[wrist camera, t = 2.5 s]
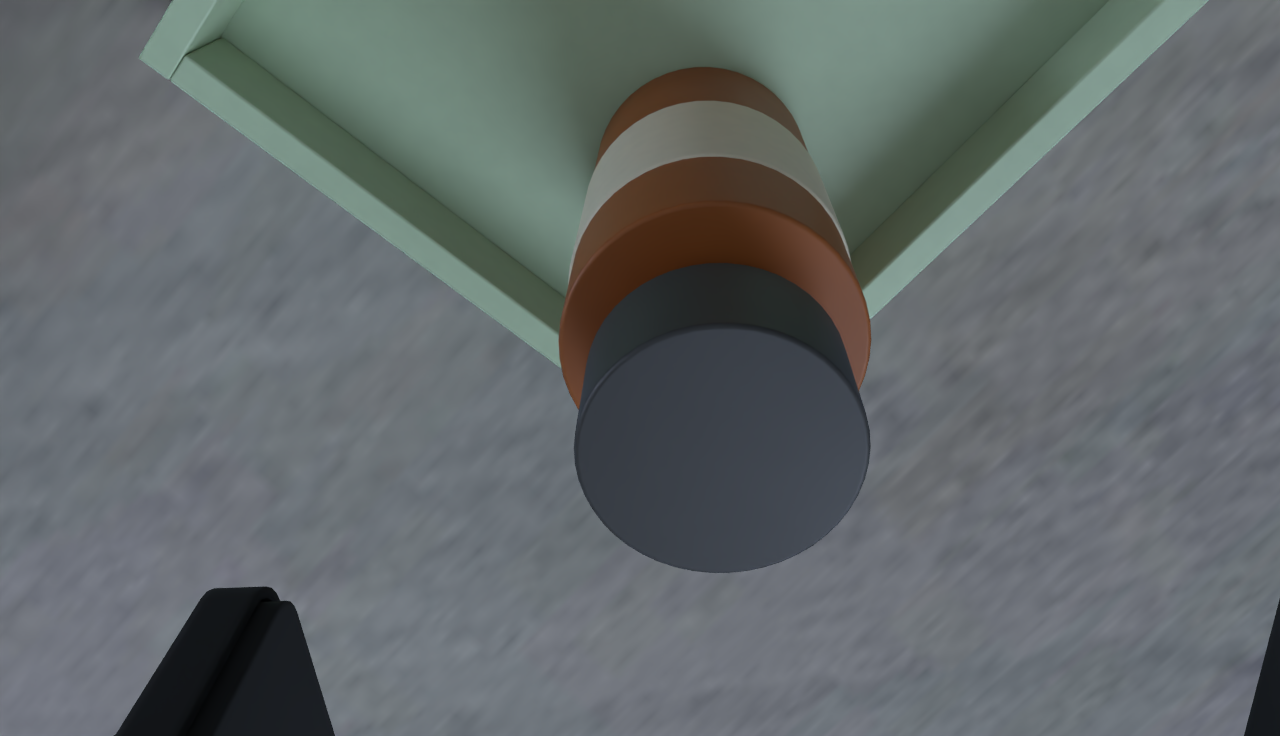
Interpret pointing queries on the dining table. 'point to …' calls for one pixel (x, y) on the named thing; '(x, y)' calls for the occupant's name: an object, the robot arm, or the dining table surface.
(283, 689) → the robot arm
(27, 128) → the dining table surface
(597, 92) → the tray
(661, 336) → the spice bottle
